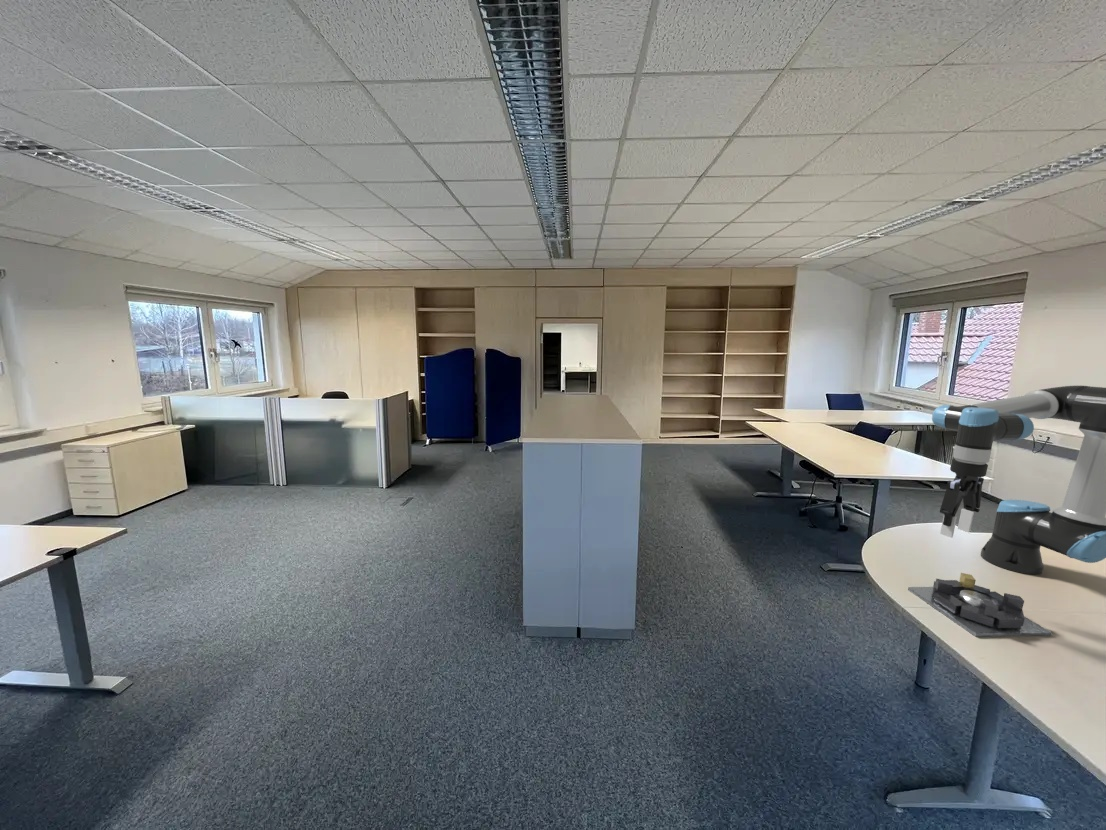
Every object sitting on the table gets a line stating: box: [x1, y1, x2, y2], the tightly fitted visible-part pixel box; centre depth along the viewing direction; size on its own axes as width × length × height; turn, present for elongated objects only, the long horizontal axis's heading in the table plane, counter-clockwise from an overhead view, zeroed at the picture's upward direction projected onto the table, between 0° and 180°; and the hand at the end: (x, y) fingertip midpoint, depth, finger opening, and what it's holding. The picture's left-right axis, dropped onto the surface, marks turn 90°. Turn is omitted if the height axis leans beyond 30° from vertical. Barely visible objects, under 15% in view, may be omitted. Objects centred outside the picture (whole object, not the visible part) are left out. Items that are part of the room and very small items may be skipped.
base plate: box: [907, 586, 1052, 638], centre depth 122 cm, size 21×21×4 cm
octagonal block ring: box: [932, 572, 1025, 628], centre depth 122 cm, size 18×18×6 cm
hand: (955, 532), depth 125 cm, fingers open, 8 cm apart
